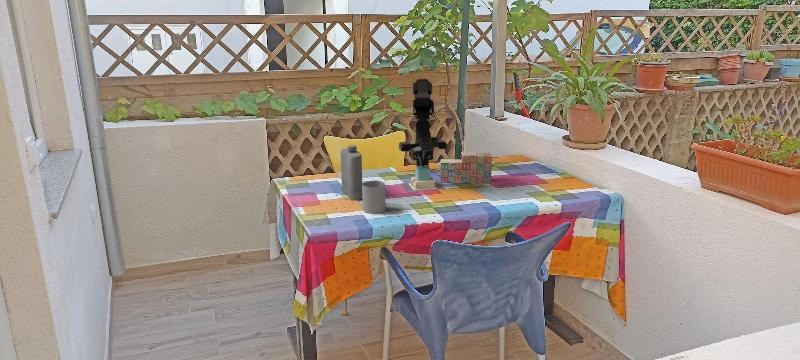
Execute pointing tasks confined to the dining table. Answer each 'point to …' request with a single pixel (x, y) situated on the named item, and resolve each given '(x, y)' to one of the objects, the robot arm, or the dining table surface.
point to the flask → (351, 172)
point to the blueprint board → (409, 188)
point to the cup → (373, 197)
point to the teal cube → (422, 173)
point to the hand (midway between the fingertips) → (422, 166)
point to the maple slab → (422, 183)
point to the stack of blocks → (467, 168)
